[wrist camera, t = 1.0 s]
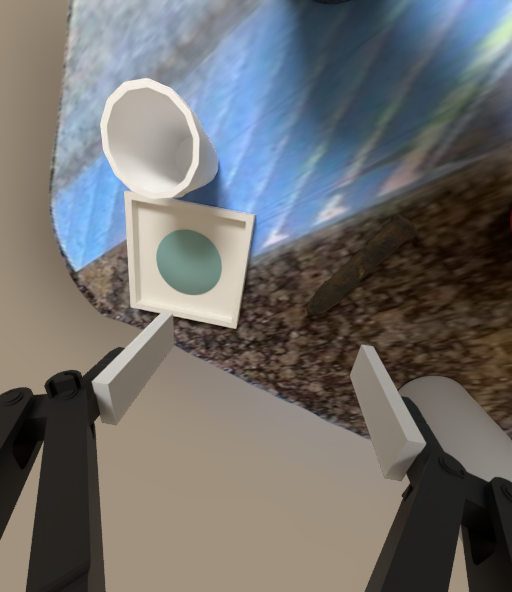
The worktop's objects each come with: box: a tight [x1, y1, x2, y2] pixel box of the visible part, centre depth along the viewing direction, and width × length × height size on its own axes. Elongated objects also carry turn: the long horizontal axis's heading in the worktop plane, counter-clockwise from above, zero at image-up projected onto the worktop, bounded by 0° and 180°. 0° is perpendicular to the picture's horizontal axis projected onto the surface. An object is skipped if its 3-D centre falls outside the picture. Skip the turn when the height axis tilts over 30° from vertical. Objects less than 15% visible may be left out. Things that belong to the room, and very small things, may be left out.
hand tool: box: [307, 214, 419, 315], centre depth 35 cm, size 19×4×5 cm, turn 138°
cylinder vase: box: [398, 376, 512, 543], centre depth 34 cm, size 12×12×25 cm
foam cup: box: [100, 78, 219, 199], centre depth 28 cm, size 10×9×13 cm
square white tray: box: [124, 191, 256, 329], centre depth 38 cm, size 19×19×2 cm
